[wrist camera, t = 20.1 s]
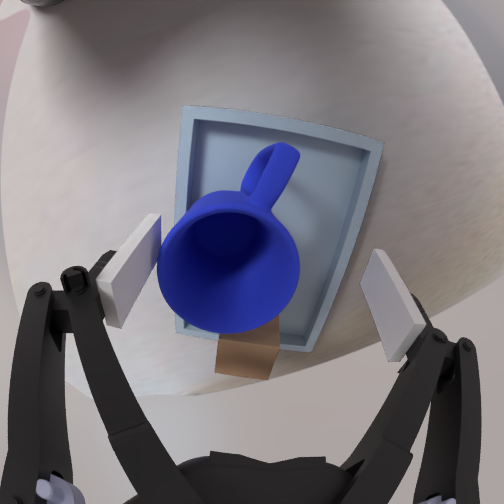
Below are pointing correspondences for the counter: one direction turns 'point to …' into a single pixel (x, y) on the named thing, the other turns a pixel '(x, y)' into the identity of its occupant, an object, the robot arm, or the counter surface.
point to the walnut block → (249, 351)
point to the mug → (234, 252)
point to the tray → (285, 199)
